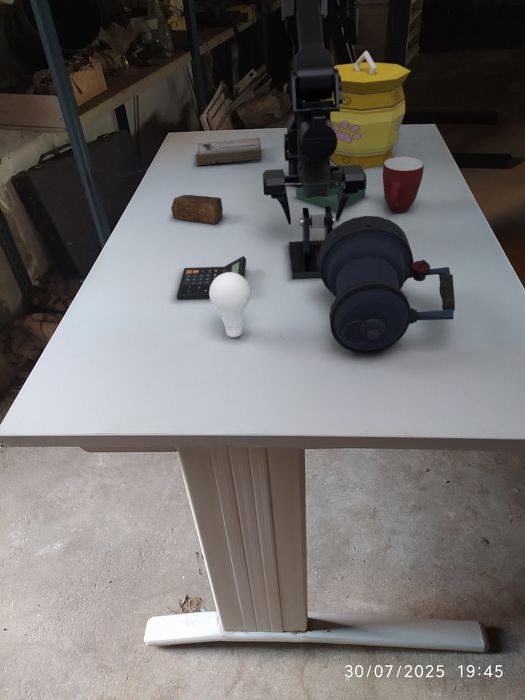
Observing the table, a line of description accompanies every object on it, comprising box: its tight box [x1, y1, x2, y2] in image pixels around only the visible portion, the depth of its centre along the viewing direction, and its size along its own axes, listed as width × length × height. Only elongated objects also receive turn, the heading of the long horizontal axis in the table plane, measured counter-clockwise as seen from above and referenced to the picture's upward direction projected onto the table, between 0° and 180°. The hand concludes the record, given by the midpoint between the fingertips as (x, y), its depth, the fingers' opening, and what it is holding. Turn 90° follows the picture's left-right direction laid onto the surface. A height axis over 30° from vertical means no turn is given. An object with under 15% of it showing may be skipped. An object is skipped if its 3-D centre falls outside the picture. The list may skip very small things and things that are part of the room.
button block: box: [295, 186, 366, 213], centre depth 122 cm, size 12×10×4 cm
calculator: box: [176, 255, 247, 301], centre depth 96 cm, size 9×12×3 cm
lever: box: [309, 213, 325, 230], centre depth 100 cm, size 11×5×2 cm, turn 1°
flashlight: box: [317, 215, 456, 354], centre depth 80 cm, size 15×21×20 cm
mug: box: [382, 156, 425, 214], centre depth 112 cm, size 10×8×10 cm
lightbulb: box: [209, 272, 252, 338], centre depth 81 cm, size 6×6×11 cm
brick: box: [170, 194, 224, 225], centre depth 117 cm, size 11×4×5 cm, turn 69°
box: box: [195, 137, 263, 166], centre depth 145 cm, size 11×17×3 cm, turn 91°
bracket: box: [288, 206, 336, 280], centre depth 98 cm, size 12×10×10 cm
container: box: [322, 50, 411, 169], centre depth 134 cm, size 21×21×25 cm
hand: (313, 222), depth 105 cm, fingers open, 9 cm apart
